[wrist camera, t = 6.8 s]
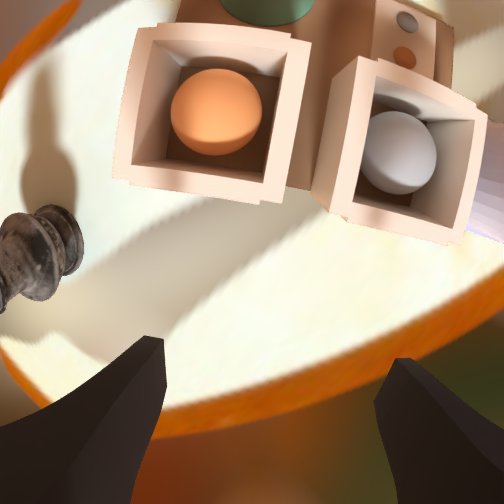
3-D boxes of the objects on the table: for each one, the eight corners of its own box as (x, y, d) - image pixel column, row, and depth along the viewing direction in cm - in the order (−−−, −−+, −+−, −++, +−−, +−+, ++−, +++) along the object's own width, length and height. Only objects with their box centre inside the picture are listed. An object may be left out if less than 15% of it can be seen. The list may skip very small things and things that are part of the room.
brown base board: (444, 25, 12) (455, 19, 10) (417, 215, 16) (429, 221, 15) (200, -36, 11) (196, -48, 10) (155, 163, 16) (146, 165, 14)
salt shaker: (22, 251, 18) (-86, 327, 7) (39, 185, 16) (-100, 240, 5) (74, 293, 19) (-25, 400, 8) (98, 228, 17) (-40, 327, 6)
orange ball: (267, 85, 13) (271, 65, 10) (253, 160, 15) (253, 165, 11) (190, 75, 13) (169, 54, 9) (177, 148, 14) (151, 151, 11)
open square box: (439, 114, 13) (488, 111, 9) (416, 223, 15) (459, 249, 11) (332, 75, 13) (358, 51, 9) (309, 197, 15) (327, 218, 11)
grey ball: (418, 127, 14) (458, 126, 10) (404, 195, 15) (441, 211, 11) (353, 105, 13) (382, 94, 10) (339, 177, 15) (364, 189, 11)
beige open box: (298, 67, 13) (312, 38, 9) (275, 190, 15) (280, 208, 11) (170, 52, 13) (139, 23, 8) (150, 171, 15) (111, 183, 11)
